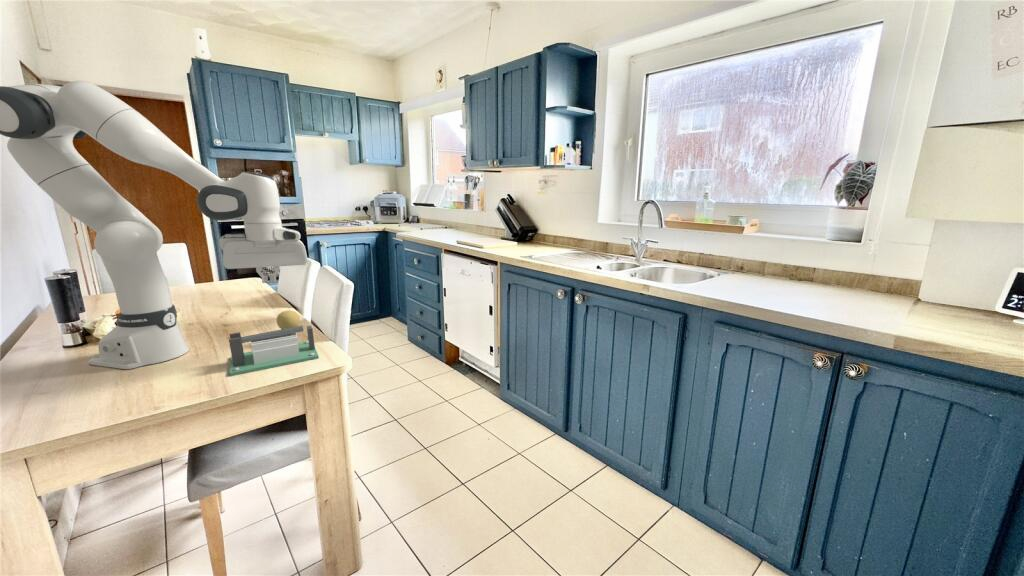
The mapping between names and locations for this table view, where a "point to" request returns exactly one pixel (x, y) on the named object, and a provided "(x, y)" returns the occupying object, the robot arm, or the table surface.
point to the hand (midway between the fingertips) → (269, 282)
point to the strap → (271, 334)
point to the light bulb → (288, 319)
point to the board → (273, 363)
